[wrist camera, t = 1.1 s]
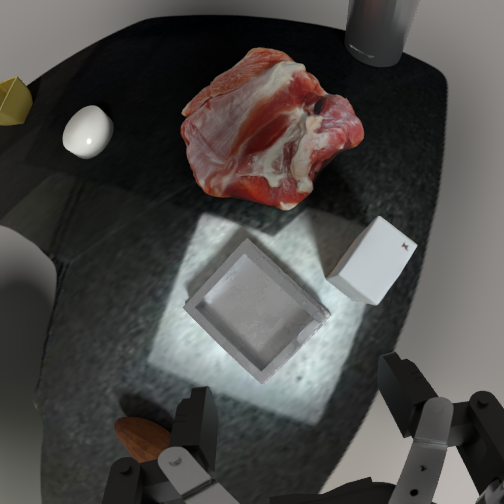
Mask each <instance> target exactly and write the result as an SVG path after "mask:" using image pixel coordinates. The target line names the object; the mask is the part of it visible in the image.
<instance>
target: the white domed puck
mask: <svg viewBox="0 0 504 504" xmlns="http://www.w3.org/2000/svg"><path fill="white" fill-rule="evenodd" d="M112 134H113V122H112V120H111V119H110V118H109V117H108V116H107V115H106V114H105V113H104V112H103V111H102V110H101V109H100V108H99V107H97V106H87V107H85V108H83V109H81V110H80V111H78V112H77V113H76V114H75V115H74V116H73V117H72V118H71V119H70V121H69V122H68V124H67V126H66V128H65V131H64V134H63V144H64V146H65V148H66V149H67V150H69V151H71V152H72V153H74V154H75V155H77V156H78V157H80V158H82V159H90V158H92V157H95V156H96V155H98V154H99V153H100V152H101V151H102V150H103V149H104V148H105V147H106V146H107V144H108V143H109V141H110V139H111V137H112Z"/></svg>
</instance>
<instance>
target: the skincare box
mask: <svg viewBox="0 0 504 504" xmlns="http://www.w3.org/2000/svg"><path fill="white" fill-rule="evenodd" d="M416 247H417V244H416V243H414V242H413V241H412V240H411V239H409V238H408V237H407V236H405V235H404V234H403V233H402V232H400V231H399V230H398V229H396V228H395V227H394V226H392V225H391V224H390V223H389V222H387V221H386V220H385V219H383V218H382V217H381V216H378V217H377V218H376V219H375V220H374V221H373V222H372V223H371V224H370V225H369V226H368V227H367V228H365V229H364V230H363V231H362V232H361V233H360V234H359V235H358V236H357V237H356V238H355V239H354V241H353V242H352V244H351V245H350V246H349V248H348V249H347V251H346V252H345V253H344V255H343V256H342V258H341V259H340V260H339V262H338V263H337V265H336V266H335V267H334V269H333V270H332V271H331V273H330V274H329V275H328V276H327V278H326V280H327V281H328V282H330V283H331V284H332V285H333V286H335V287H336V288H337V289H338V290H340V291H341V292H342V293H343V294H344V295H346V296H347V297H348V298H350V299H351V300H352V301H357V302H363V303H368V304H373V305H378V304H379V303H380V301H381V300H382V298H383V297H384V296H385V294H386V293H387V291H388V290H389V288H390V287H391V286H392V284H393V283H394V281H395V280H396V279H397V278H398V276H399V275H400V273H401V272H402V270H403V268H404V267H405V265H406V263H407V262H408V260H409V259H410V257H411V255H412V254H413V252H414V250H415V249H416Z"/></svg>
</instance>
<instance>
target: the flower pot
mask: <svg viewBox="0 0 504 504" xmlns="http://www.w3.org/2000/svg"><path fill="white" fill-rule="evenodd" d="M32 104H33V101H32V96H31V93H30V91H29V89H28V88H27V87H26V85H25V84H24V83H23V82H22V81H21V80H20V79H19V78H18V76H15V77H12V78H10V79H7V80H5V81H3V82H1V83H0V125H16V124H22V123H24V122H25V120H26V117H27V115H28V113H29V111H30V109H31V106H32Z"/></svg>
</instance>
